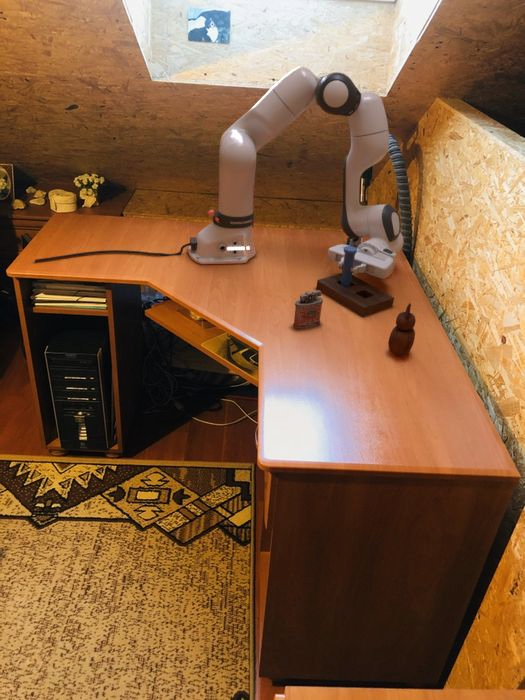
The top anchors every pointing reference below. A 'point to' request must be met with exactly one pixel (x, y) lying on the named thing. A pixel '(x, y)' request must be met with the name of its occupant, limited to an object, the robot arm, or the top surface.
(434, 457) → the top surface
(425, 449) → the top surface
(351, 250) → the peg
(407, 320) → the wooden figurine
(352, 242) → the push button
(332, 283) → the rack
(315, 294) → the lighter
